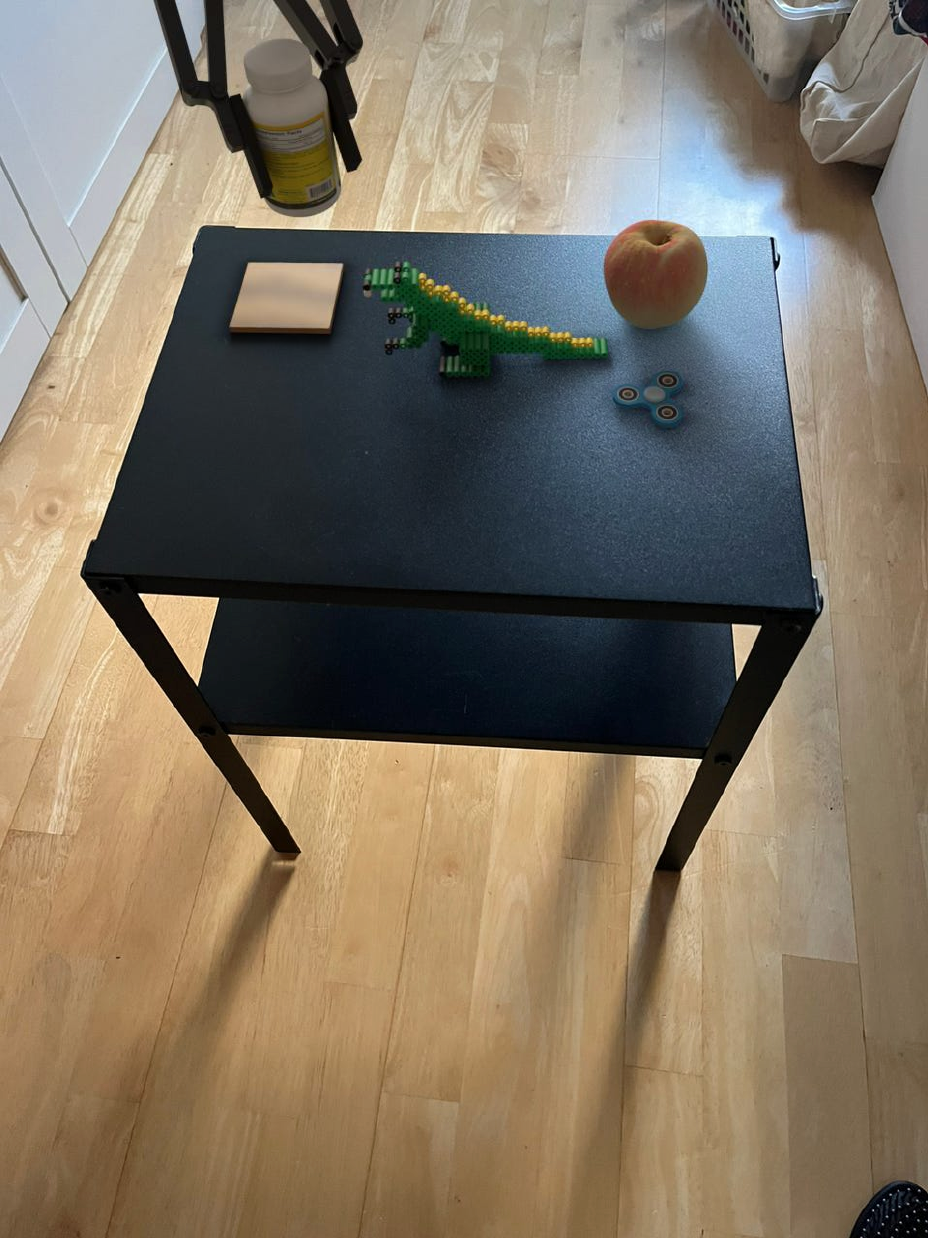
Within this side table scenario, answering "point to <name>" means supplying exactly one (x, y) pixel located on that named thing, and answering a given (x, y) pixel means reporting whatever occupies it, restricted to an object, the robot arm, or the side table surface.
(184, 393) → the side table surface
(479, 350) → the green brick dinosaur
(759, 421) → the side table surface
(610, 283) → the apple
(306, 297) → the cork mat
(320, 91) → the pill bottle
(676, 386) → the toy
